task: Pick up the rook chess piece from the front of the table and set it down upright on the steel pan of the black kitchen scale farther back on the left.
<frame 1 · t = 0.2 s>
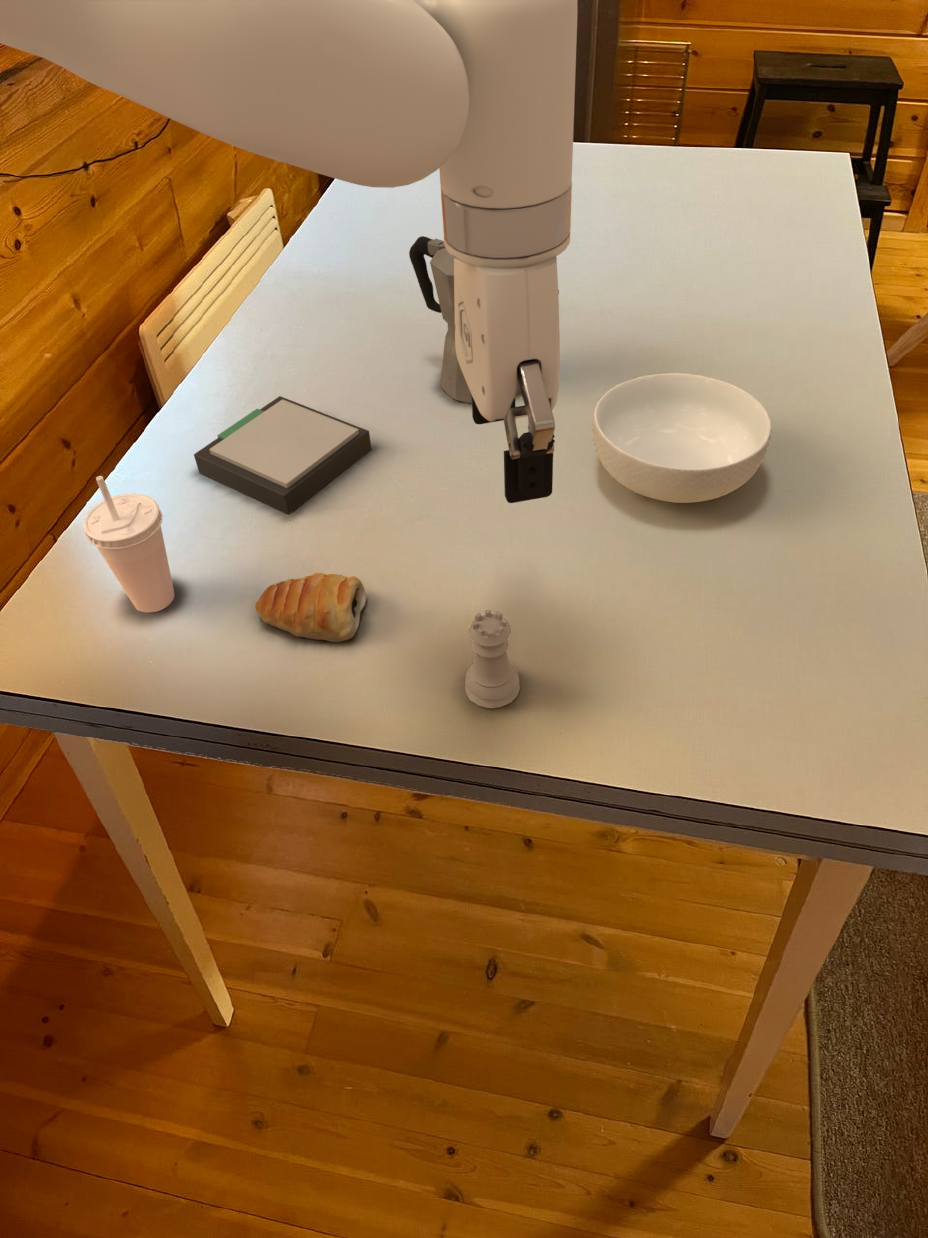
hand: (510, 456, 66), 18 cm above the table, tool pointing down, fingers open, 9 cm apart
coffeepot: (472, 382, 108), on the table
scale: (286, 461, 99), on the table
smoothie: (154, 599, 85), on the table
pastry: (319, 619, 82), on the table
rook chess piece: (492, 691, 75), on the table
cereal bowl: (673, 477, 94), on the table
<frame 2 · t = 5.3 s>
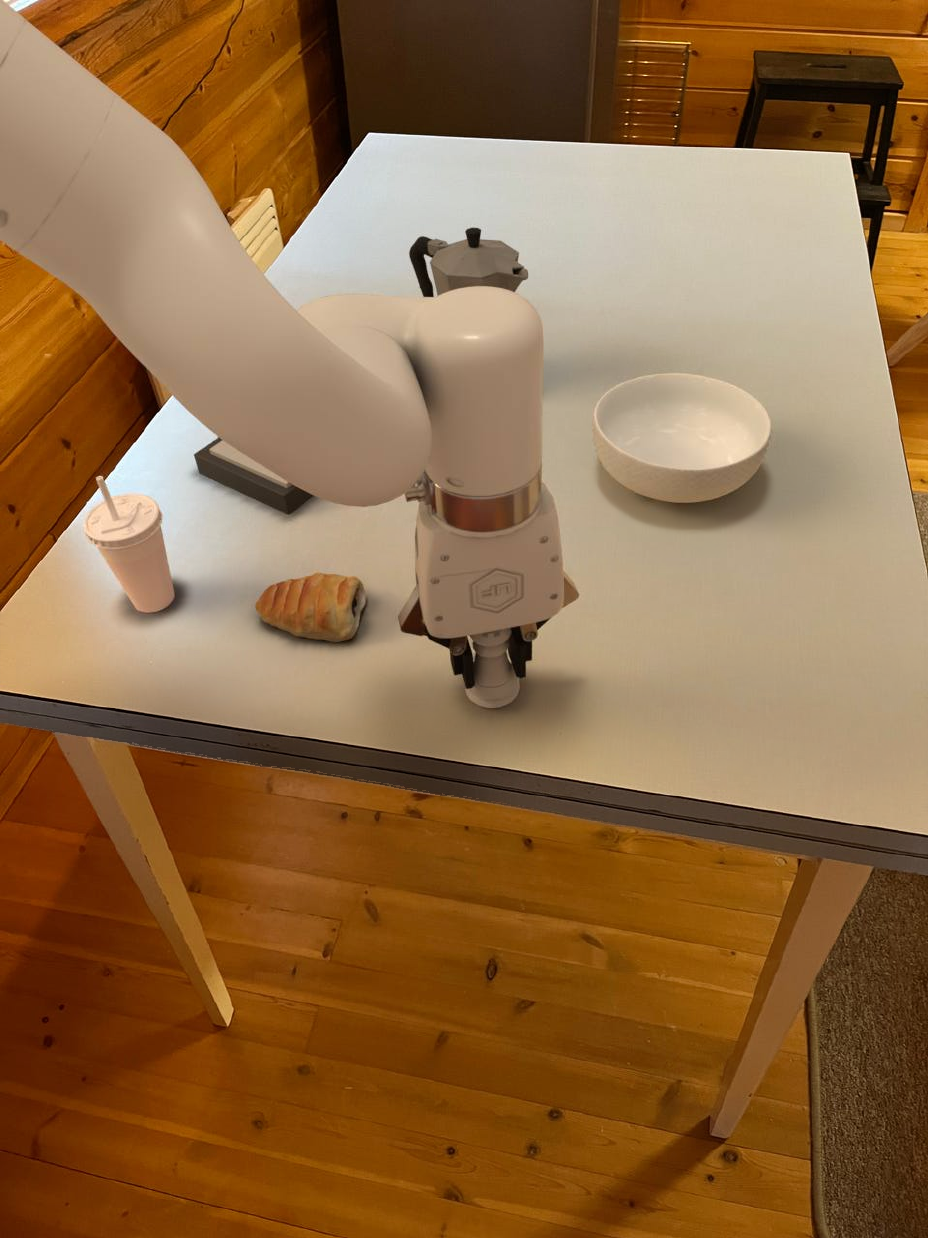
hand: (491, 668, 73), 3 cm above the table, tool pointing down, fingers closed on rook chess piece, 3 cm apart
rook chess piece: (492, 691, 75), on the table, touching gripper
everything else where it was.
when the fingers open (6 cm above the table, at t = 13.1 s): rook chess piece stays where it is, resting on scale.
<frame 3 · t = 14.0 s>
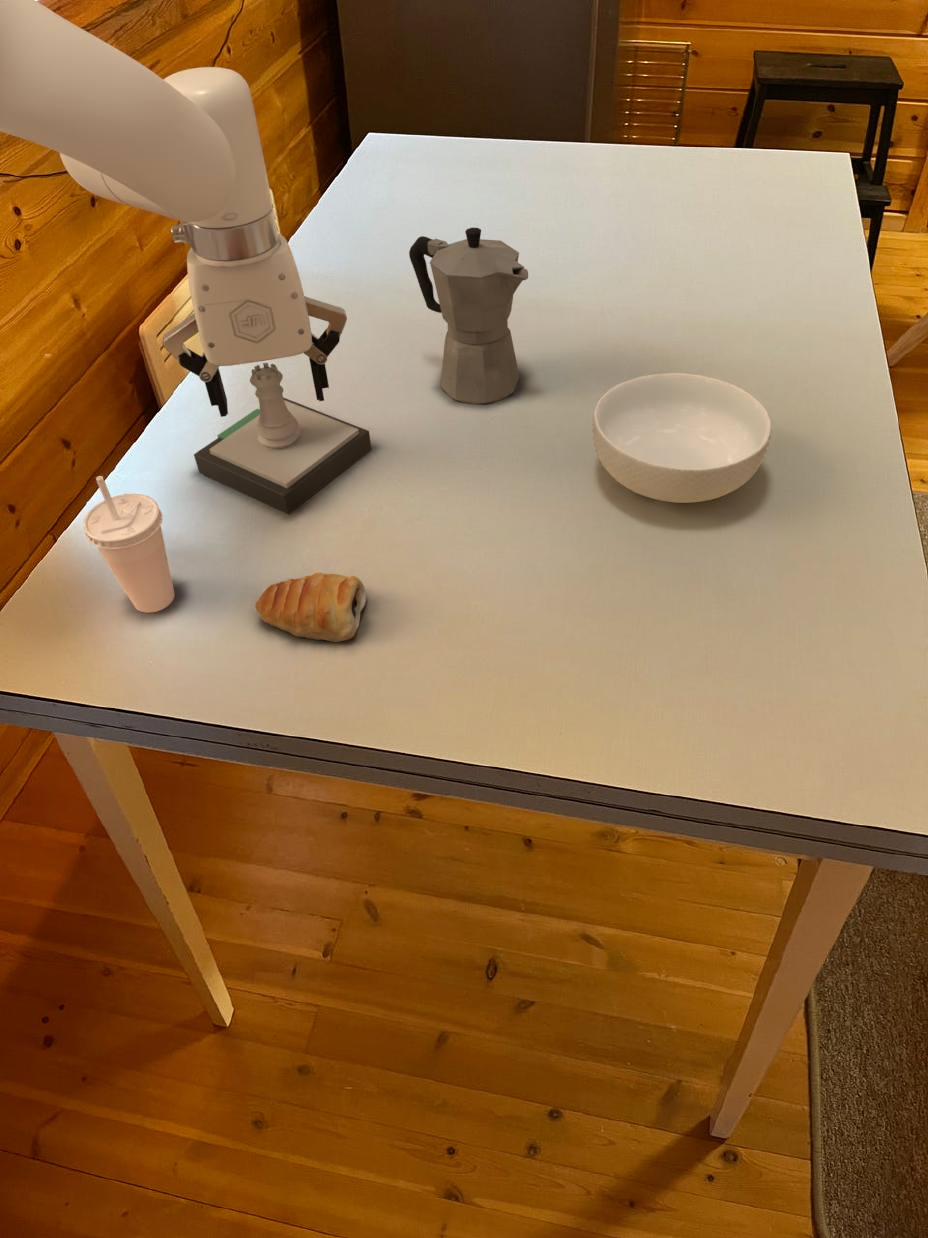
hand: (272, 401, 93), 7 cm above the table, tool pointing down, fingers open, 9 cm apart
rook chess piece: (280, 439, 97), point 3 cm above the table, touching scale
everything else where it was.
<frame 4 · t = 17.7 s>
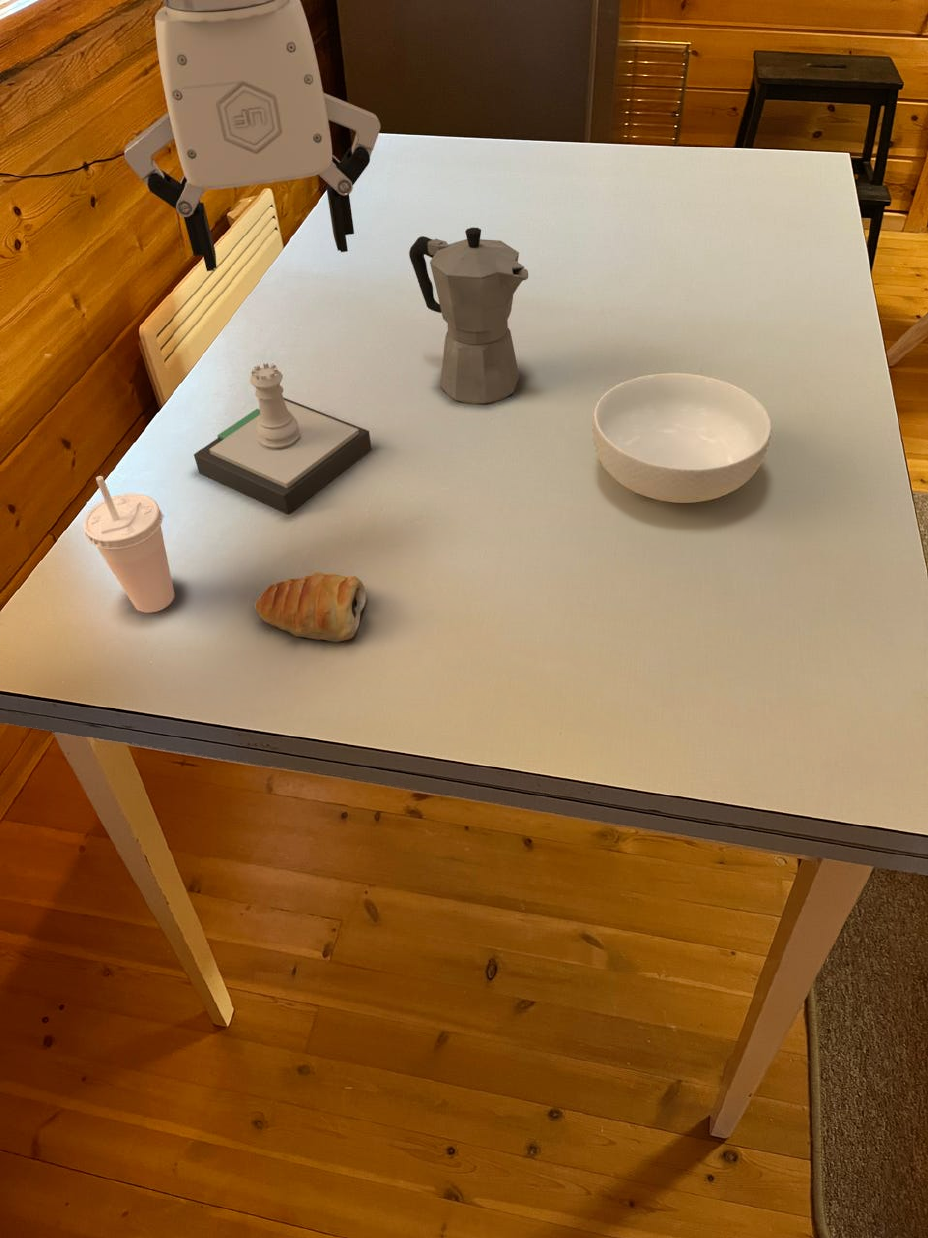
hand: (276, 253, 69), 28 cm above the table, tool pointing down, fingers open, 9 cm apart
nothing on the table moved.
at the end: rook chess piece inside the target area on the scale (0.1 cm from its centre), point 2.8 cm above the scale's base; rook chess piece tilted 0°; the gripper is holding nothing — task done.
